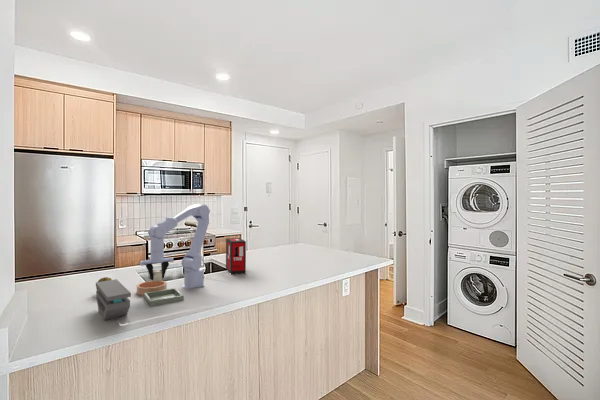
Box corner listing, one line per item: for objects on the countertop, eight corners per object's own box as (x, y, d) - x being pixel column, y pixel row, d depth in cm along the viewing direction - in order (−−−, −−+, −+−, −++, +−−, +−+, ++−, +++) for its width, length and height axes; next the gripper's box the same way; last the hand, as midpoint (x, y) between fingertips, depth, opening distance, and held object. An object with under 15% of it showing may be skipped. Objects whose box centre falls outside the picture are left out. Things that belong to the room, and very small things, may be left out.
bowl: (162, 286, 163) (162, 279, 163) (169, 293, 153) (169, 285, 153) (135, 291, 155) (134, 283, 155) (139, 298, 145) (139, 289, 145)
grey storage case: (95, 307, 133) (95, 282, 133) (116, 303, 138) (116, 279, 138) (107, 326, 115) (107, 297, 114) (130, 320, 120) (130, 292, 120)
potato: (93, 300, 141) (93, 283, 141) (97, 292, 153) (97, 276, 153) (114, 298, 145) (114, 281, 145) (116, 290, 156) (116, 274, 156)
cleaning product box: (245, 273, 193) (245, 241, 192) (231, 274, 189) (231, 242, 189) (239, 267, 208) (239, 237, 207) (225, 268, 204) (226, 238, 204)
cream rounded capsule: (160, 278, 152) (160, 269, 152) (163, 280, 148) (163, 271, 148) (151, 279, 149) (151, 270, 149) (153, 282, 146) (153, 272, 146)
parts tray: (175, 293, 153) (175, 287, 153) (183, 301, 142) (183, 295, 142) (144, 298, 145) (144, 293, 145) (150, 307, 133) (150, 301, 133)
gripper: (142, 253, 141) (142, 283, 141) (175, 250, 150) (175, 277, 150) (139, 251, 146) (139, 279, 147) (171, 248, 155) (171, 274, 156)
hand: (157, 278), depth 149 cm, fingers closed on cream rounded capsule, 4 cm apart
